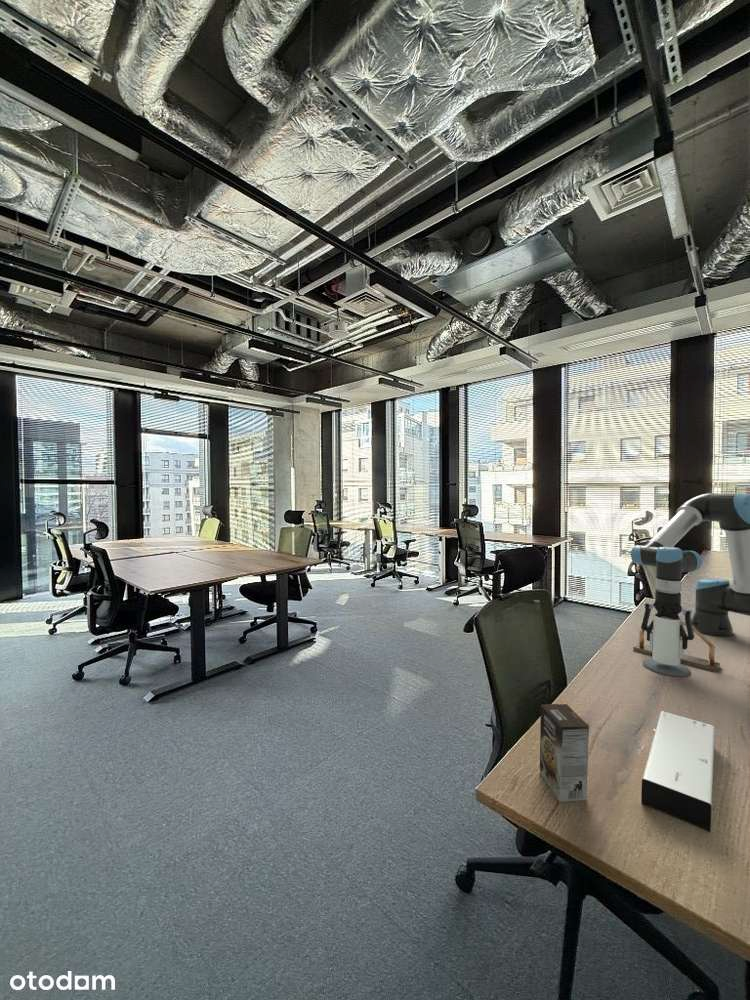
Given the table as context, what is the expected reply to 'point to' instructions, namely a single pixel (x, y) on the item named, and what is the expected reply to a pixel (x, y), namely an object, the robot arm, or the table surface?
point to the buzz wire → (686, 659)
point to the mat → (666, 668)
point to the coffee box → (564, 752)
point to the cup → (666, 640)
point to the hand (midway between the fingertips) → (666, 653)
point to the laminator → (680, 770)
